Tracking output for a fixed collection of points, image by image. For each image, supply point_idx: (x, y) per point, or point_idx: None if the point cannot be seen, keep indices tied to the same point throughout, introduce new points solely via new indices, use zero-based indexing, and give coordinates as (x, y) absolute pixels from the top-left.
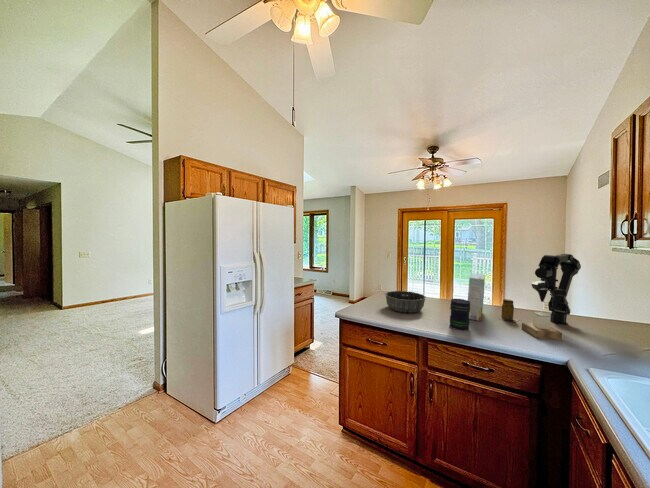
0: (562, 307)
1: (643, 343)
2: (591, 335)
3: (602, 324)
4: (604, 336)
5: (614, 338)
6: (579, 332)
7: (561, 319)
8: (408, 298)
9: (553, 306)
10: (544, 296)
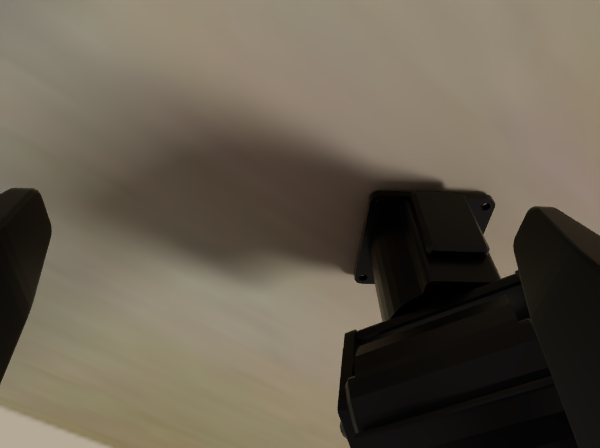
0: (350, 386)
1: (34, 417)
2: (73, 260)
3: None
4: (89, 325)
5: (67, 351)
6: (129, 221)
7: (377, 264)
8: None
9: (462, 334)
10: (583, 405)
